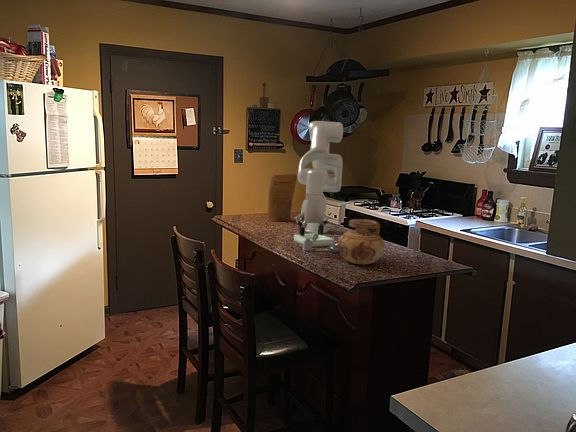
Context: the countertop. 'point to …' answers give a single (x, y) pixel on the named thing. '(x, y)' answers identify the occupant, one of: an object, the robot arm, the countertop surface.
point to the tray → (320, 240)
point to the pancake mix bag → (281, 197)
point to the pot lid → (334, 248)
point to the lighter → (309, 242)
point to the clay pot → (362, 242)
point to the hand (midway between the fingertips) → (311, 235)
